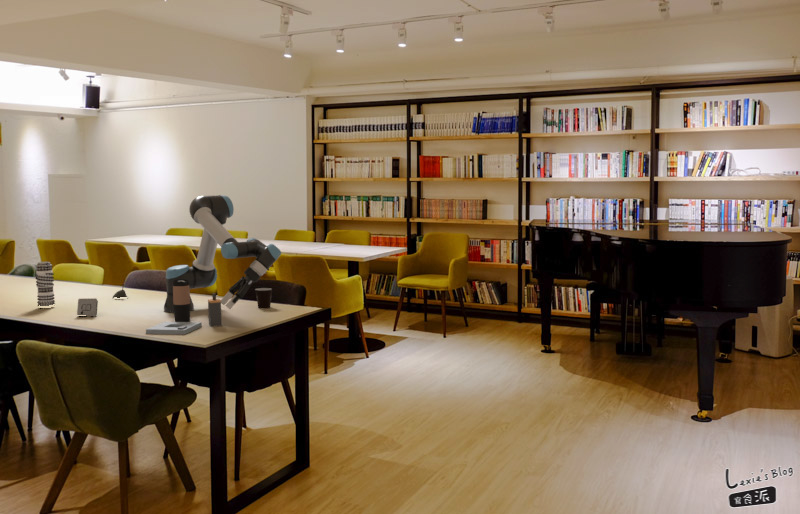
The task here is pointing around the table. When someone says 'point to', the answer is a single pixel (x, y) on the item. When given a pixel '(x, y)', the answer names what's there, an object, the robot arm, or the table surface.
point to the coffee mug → (263, 297)
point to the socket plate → (174, 328)
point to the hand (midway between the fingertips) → (224, 305)
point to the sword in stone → (120, 293)
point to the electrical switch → (87, 307)
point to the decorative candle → (45, 284)
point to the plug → (214, 311)
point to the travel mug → (181, 300)
